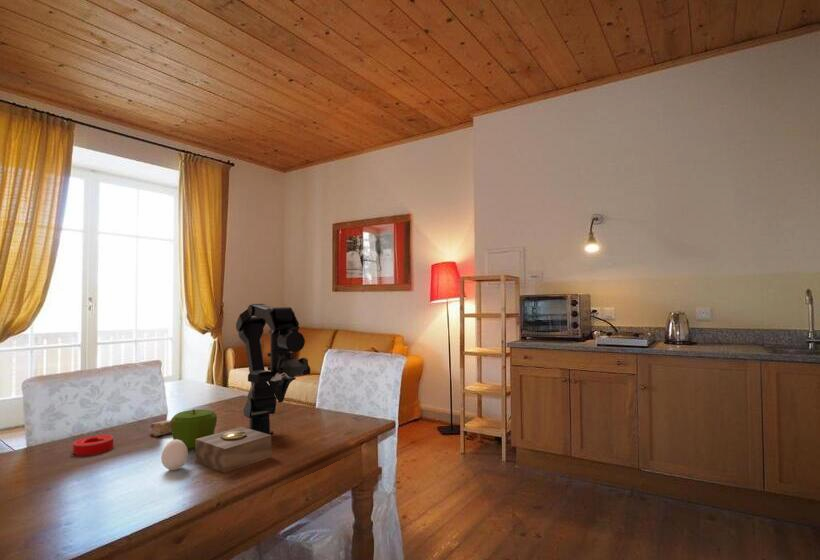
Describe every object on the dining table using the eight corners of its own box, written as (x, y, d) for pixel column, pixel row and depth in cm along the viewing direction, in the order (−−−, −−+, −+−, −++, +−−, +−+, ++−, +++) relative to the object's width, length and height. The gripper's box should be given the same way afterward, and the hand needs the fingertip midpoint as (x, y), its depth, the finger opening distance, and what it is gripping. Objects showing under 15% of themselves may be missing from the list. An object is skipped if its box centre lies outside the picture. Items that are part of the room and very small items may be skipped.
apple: (223, 446, 134) (223, 408, 134) (180, 457, 125) (180, 416, 125) (205, 438, 142) (206, 402, 143) (164, 447, 133) (164, 409, 134)
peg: (217, 458, 122) (217, 435, 123) (237, 452, 127) (237, 429, 127) (229, 463, 119) (230, 438, 119) (249, 456, 124) (249, 433, 124)
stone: (147, 433, 148) (147, 419, 149) (182, 427, 155) (182, 414, 155) (153, 439, 142) (153, 425, 142) (189, 433, 149) (189, 419, 149)
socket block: (195, 461, 122) (195, 439, 122) (241, 447, 133) (241, 426, 133) (224, 473, 113) (224, 448, 113) (271, 456, 124) (271, 434, 125)
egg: (183, 463, 120) (183, 434, 121) (191, 469, 116) (191, 439, 116) (158, 469, 116) (158, 439, 116) (165, 476, 112) (165, 445, 112)
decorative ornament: (64, 456, 128) (64, 444, 128) (89, 445, 138) (90, 434, 138) (97, 456, 128) (97, 444, 128) (120, 445, 137) (120, 434, 137)
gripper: (271, 354, 122) (271, 412, 121) (322, 347, 137) (322, 399, 136) (246, 352, 128) (246, 407, 128) (298, 345, 144) (298, 395, 143)
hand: (280, 402), depth 134 cm, fingers closed
